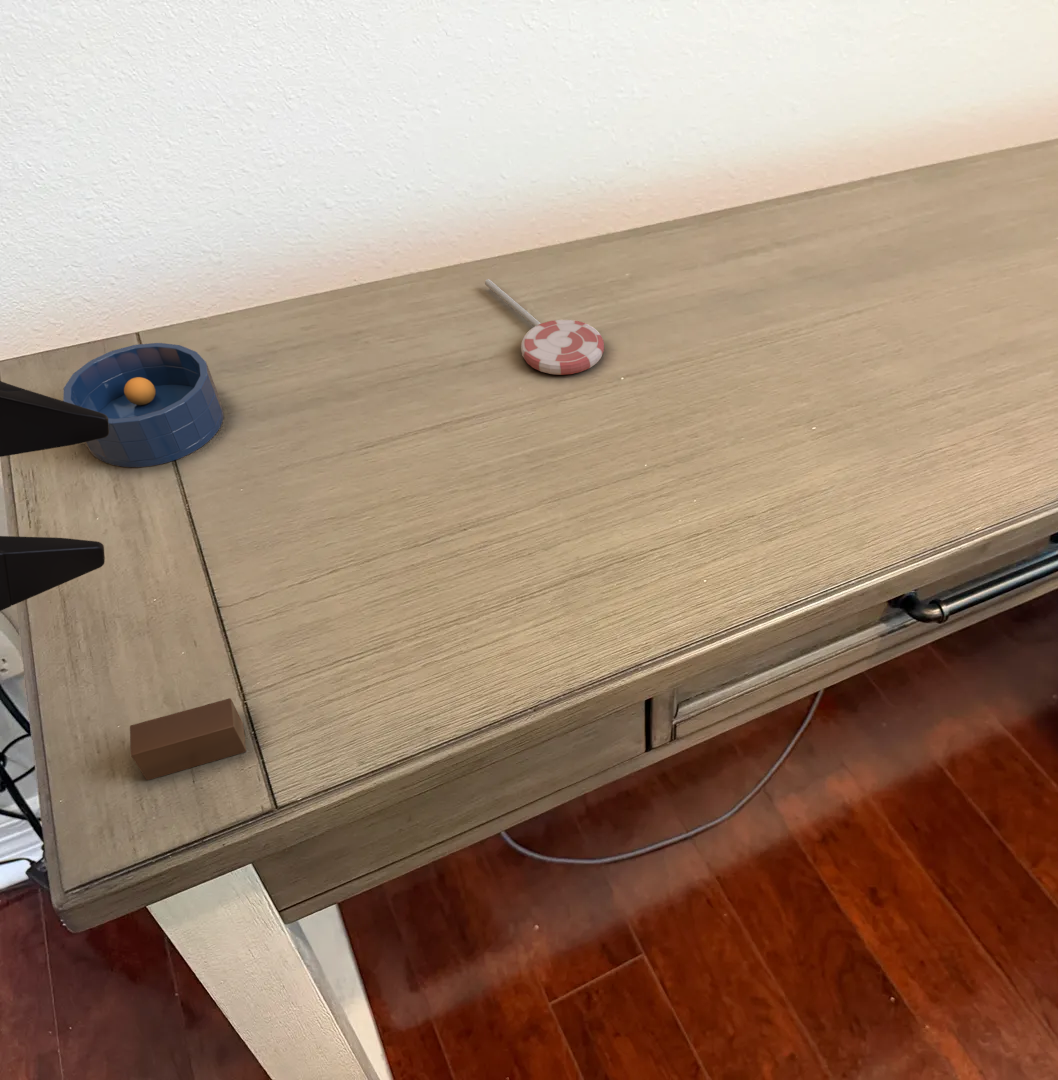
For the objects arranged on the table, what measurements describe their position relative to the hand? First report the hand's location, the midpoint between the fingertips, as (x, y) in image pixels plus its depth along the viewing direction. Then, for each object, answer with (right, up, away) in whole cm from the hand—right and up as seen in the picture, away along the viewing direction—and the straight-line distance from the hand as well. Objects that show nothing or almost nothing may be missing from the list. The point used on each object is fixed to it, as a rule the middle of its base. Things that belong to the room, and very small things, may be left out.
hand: (106, 485), depth 46 cm
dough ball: (-15, +8, +29) cm, 34 cm away
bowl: (-14, +6, +29) cm, 33 cm away
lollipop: (+12, +15, +40) cm, 44 cm away
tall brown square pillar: (-1, -14, +10) cm, 17 cm away
